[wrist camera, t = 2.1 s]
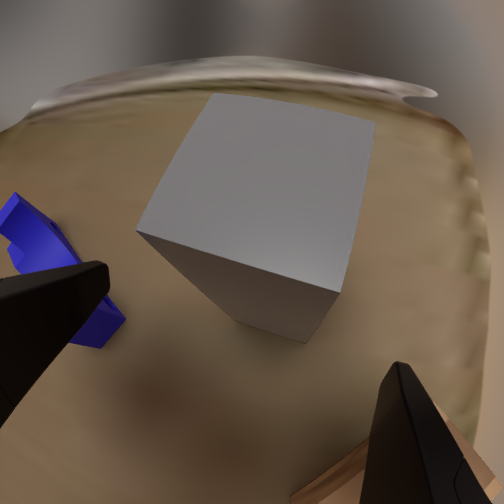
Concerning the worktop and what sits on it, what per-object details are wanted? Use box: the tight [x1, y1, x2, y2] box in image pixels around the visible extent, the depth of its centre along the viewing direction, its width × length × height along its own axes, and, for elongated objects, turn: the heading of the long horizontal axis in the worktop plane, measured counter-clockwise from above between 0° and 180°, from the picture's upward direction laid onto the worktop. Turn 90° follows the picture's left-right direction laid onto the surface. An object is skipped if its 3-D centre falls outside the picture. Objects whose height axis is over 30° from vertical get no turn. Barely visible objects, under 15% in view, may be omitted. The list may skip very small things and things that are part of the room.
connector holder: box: [290, 401, 503, 504], centre depth 11 cm, size 10×10×4 cm
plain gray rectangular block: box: [135, 93, 376, 344], centre depth 13 cm, size 4×4×13 cm
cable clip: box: [0, 192, 126, 349], centre depth 18 cm, size 12×4×6 cm, turn 48°
